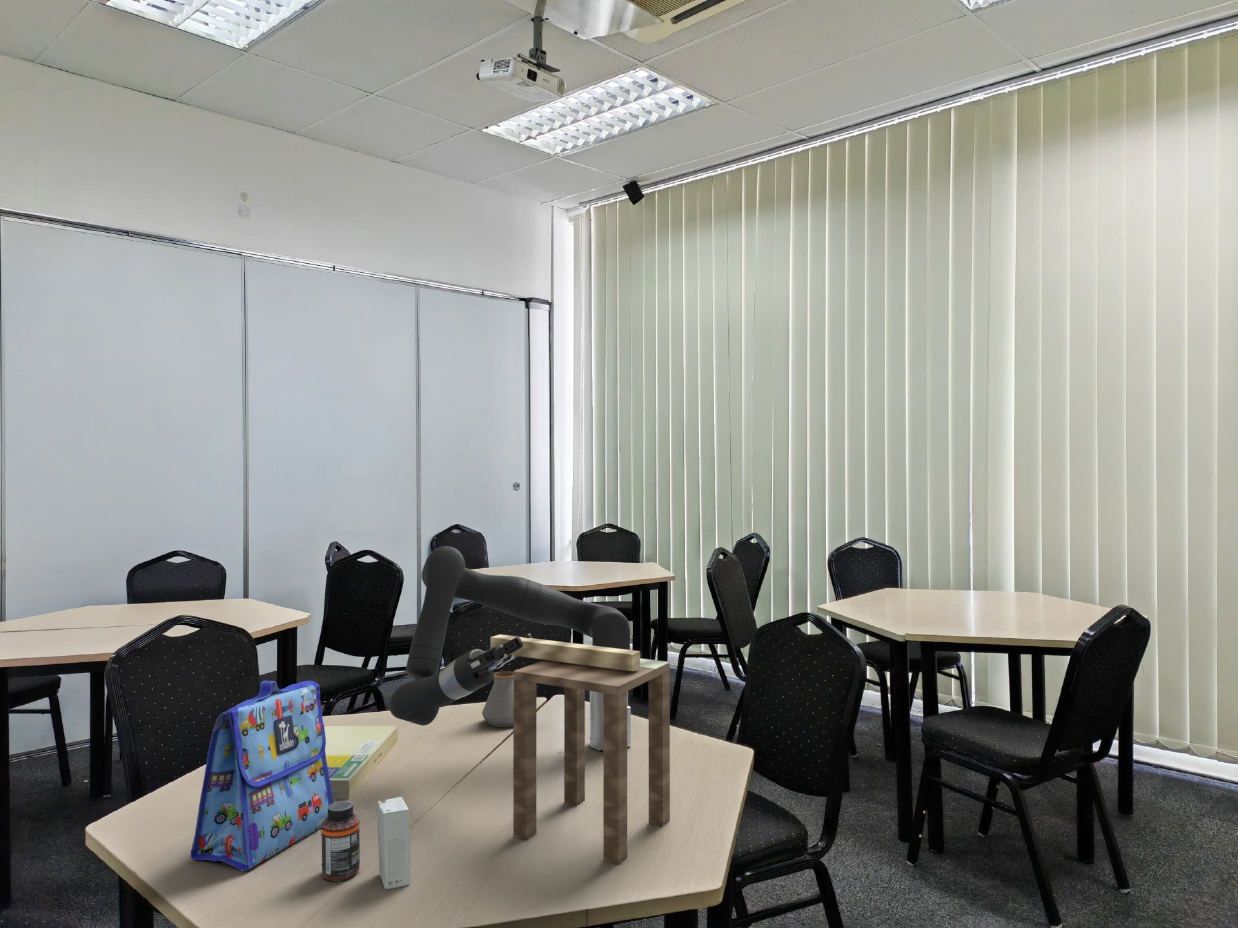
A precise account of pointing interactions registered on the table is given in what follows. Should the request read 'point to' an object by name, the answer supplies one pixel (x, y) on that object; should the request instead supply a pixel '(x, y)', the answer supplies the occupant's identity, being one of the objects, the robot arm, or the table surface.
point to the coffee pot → (500, 701)
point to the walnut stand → (614, 743)
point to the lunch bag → (264, 777)
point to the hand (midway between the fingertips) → (525, 639)
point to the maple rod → (573, 653)
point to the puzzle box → (355, 754)
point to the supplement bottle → (340, 842)
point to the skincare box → (393, 843)
